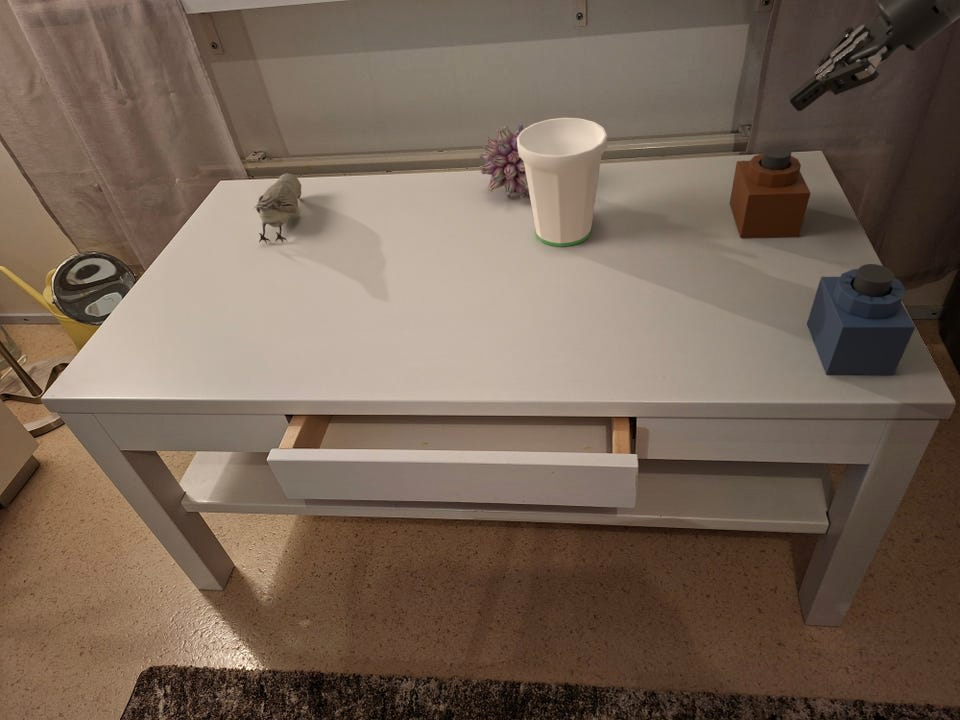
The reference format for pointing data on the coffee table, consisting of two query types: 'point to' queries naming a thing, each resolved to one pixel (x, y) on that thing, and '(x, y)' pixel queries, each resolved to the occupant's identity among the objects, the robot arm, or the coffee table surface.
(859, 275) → the dark grey round cap
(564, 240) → the cup
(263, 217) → the decorative bird
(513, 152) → the flower
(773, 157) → the grey round disc
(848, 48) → the robot arm
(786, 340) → the coffee table surface
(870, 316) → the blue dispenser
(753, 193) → the brown block with collar
